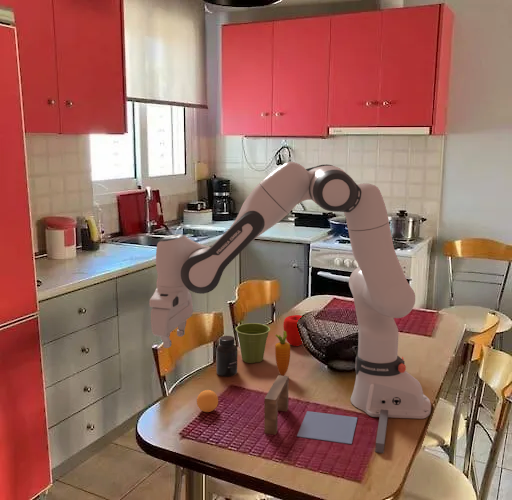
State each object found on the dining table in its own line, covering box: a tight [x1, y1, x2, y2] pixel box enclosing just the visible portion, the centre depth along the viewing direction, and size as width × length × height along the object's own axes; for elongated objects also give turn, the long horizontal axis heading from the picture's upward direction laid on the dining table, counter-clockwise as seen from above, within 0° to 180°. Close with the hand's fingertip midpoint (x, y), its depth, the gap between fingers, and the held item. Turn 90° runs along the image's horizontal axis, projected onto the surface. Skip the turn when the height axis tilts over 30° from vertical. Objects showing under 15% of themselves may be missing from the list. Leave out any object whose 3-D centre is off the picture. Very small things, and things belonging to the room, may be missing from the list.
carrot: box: [274, 330, 291, 376], centre depth 184 cm, size 5×5×15 cm
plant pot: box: [234, 322, 271, 364], centre depth 198 cm, size 12×12×11 cm
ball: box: [196, 389, 219, 413], centre depth 163 cm, size 6×6×6 cm
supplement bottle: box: [215, 335, 238, 378], centre depth 187 cm, size 7×7×12 cm
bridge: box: [263, 374, 290, 436], centre depth 157 cm, size 3×15×10 cm, turn 164°
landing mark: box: [296, 410, 358, 445], centre depth 154 cm, size 14×14×1 cm
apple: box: [282, 314, 303, 347], centre depth 212 cm, size 9×9×11 cm
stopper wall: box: [374, 409, 389, 454], centre depth 150 cm, size 2×18×2 cm, turn 164°
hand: (174, 341), depth 162 cm, fingers open, 8 cm apart
